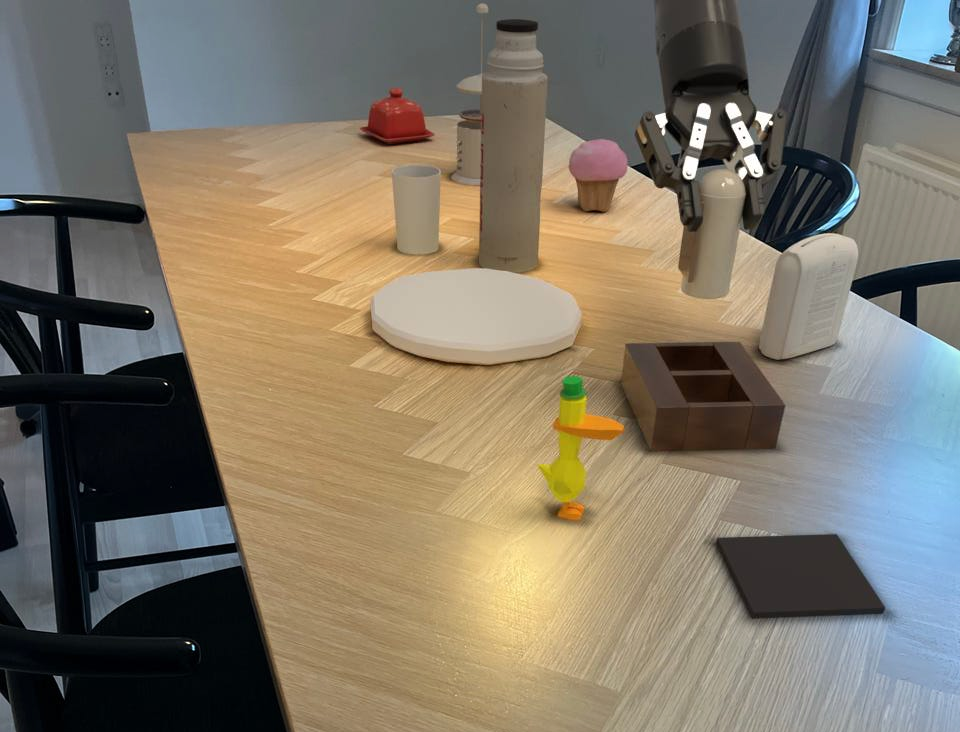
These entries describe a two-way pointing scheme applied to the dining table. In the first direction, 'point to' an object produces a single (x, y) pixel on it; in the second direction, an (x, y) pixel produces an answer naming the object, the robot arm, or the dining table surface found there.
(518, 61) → the thermos bottle
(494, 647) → the dining table surface
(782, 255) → the photo printer
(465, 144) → the french press
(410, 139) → the butter dish
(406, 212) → the drinking glass
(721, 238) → the dome-topped cream cylinder
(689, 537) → the dining table surface
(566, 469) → the toy figure
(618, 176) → the cupcake
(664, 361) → the box
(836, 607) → the mat
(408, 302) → the decorative plate
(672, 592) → the dining table surface
